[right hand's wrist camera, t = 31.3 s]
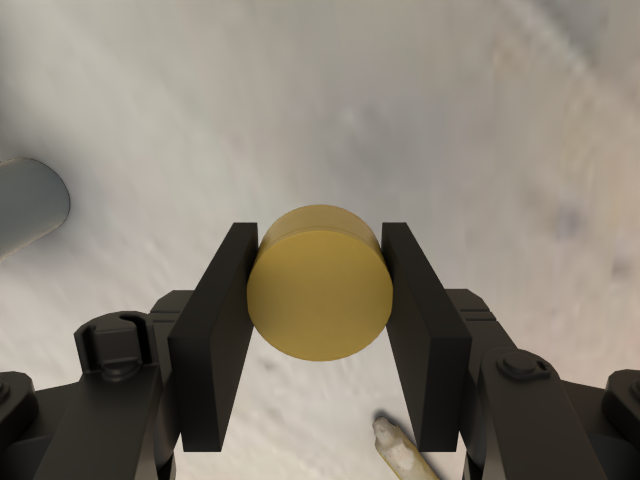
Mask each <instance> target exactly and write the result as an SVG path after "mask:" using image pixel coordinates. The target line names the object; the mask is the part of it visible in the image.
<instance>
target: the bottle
mask: <svg viewBox="0 0 640 480" xmlns="http://www.w3.org/2000/svg"><path fill="white" fill-rule="evenodd" d="M69 206H70V201H69V195H68V192H67V189H66V187H65V185H64V183H63V182H62V180H61V179H60V178H59V176H58V175H57V174H56V173H55V172H54V171H52V170H51V169H50V168H49V167H47V166H46V165H44V164H42V163H40V162H37V161H35V160H31V159H26V158H16V159H11V160H8V161H4V162H0V261H2V260H3V259H5V258H7V257H8V256H10V255H12V254H14V253H15V252H17V251H19V250H20V249H22V248H24V247H25V246H27V245H29V244H31V243H32V242H34V241H36V240H37V239H39V238H41V237H42V236H44V235H46V234H48V233H49V232H51V231H53V230H54V229H56V228H58V227H59V226H60V225H61V224H62V223H63V222H64V221H65V219H66V217H67V215H68V212H69Z"/></svg>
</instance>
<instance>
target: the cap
mask: <svg viewBox="0 0 640 480" xmlns="http://www.w3.org/2000/svg"><path fill="white" fill-rule="evenodd" d="M392 299H393V284H392V280H391V277H390V274H389V271H388V268H387V265H386V262H385V260H384V257H383V254H382V251H381V248H380V245H379V243H378V240H377V238H376V236H375V234H374V233H373V231H372V230H371V229H370V227H369V226H368V225H367V224H366V223H365V222H364V221H363V220H362V219H360V218H359V217H358V216H356V215H355V214H353V213H351V212H349V211H347V210H345V209H342V208H339V207H336V206H330V205H309V206H304V207H300V208H298V209H295V210H292V211H290V212H288V213H286V214H285V215H283V216H282V217H280V218H279V219H278V220H277V221H276V222H275V223H273V224H272V226H271V227H270V228H269V229H268V231H267V232H266V234H265V235H264V237H263V239H262V242H261V244H260V247H259V250H258V252H257V255H256V258H255V261H254V264H253V267H252V270H251V273H250V275H249V279H248V283H247V304H248V312H249V315H250V318H251V320H252V322H253V324H254V326H255V328H256V329H257V331H258V332H259V333H260V335H261V336H262V337H263V338H264V339H265V340H266V341H267V342H268V343H269V344H270V345H272V346H273V347H275V348H276V349H278V350H279V351H281V352H283V353H285V354H287V355H290V356H292V357H295V358H299V359H302V360H309V361H332V360H337V359H341V358H344V357H348V356H350V355H352V354H355V353H357V352H359V351H360V350H362V349H364V348H365V347H366V346H368V345H369V344H370V343H372V342H373V341H374V340H375V339H376V338H377V337H378V335H379V334H380V333H381V332H382V330H383V329H384V327H385V325H386V324H387V322H388V319H389V317H390V315H391V311H392Z"/></svg>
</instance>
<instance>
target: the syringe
mask: <svg viewBox="0 0 640 480" xmlns="http://www.w3.org/2000/svg"><path fill="white" fill-rule="evenodd" d="M373 429H374V431H375V435H376V442H375V447H376V450H377V451H378V452H379V454H380V455H381V456H382V458H383V459H384V460H385V461H386V463H387V464H388V465H389V466H390V468H391V469H392V470H393V471H394V473H395V474H396V475H397V476H398V478H399V479H400V480H440V479H439V478H438V477H437V476H436V475H435V473H434V472H433V471H432V469H431V468H430V467H429V465H428V464H427V463H426V462H425V460H424V459H423V458H422V456H421V455H420V453H419V452H418V450H417V448H416V447H415V446H414V444H413V443H412V442H410V441H409V439H408V438H407V437H406V435H405V434H404V433H403V432H402V431H401V429H400V428H399V426H398V424H397V426H394V425H392V424H391V423H390V422H389V421H388V420H387V419H386V418H385V417H378V418H377V419H376V420H375V421H374V423H373Z"/></svg>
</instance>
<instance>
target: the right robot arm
mask: <svg viewBox="0 0 640 480" xmlns="http://www.w3.org/2000/svg"><path fill="white" fill-rule="evenodd" d="M258 250H259V246H258V228H257V223H233V225H232V226H231V228H230V230H229V232H228V233H227V235H226V237H225V239H224V240H223V242H222V244H221V245H220V247H219V249H218V251H217V252H216V254H215V256H214V257H213V259H212V261H211V263H210V264H209V266H208V268H207V270H206V271H205V273H204V275H203V276H202V278H201V280H200V282H199V283H198V285H197V287H196V289H195V290H173V291H171V292H170V293H168V294H167V295H165V296H163V297H162V298H160V299H159V300H158V301H157V302H156V304H155V305H154V307H153V308H152V309H151V311H150V313H149V314H148V315H147V314H146V313H142V312H138V311H120V312H115V313H109V314H105V315H103V316H100V317H97V318H94V319H92V320H90V321H89V322H87V323H85V324H84V325H82V326H81V327H80V328H79V329H78V330H77V331H76V332H75V333H74V338H75V342H76V347H77V351H78V355H79V359H80V364H81V368H82V372H83V374H82V376H81V378H80V380H79V382H76V383H72V384H68V385H63V386H58V387H53V388H48V389H44V390H39V391H35V389H34V386H33V382H32V379H31V378H30V377H29V376H28V375H26V374H25V373H20V372H15V371H11V372H0V480H175V476H176V464H175V457H174V451H173V450H174V448H175V445H176V443H177V440H178V437H179V435H180V432H181V437H182V443H183V450H184V452H221V450H222V446H223V442H224V438H225V434H226V431H227V427H228V423H229V419H230V415H231V411H232V408H233V404H234V400H235V396H236V392H237V388H238V385H239V381H240V377H241V373H242V369H243V366H244V362H245V358H246V354H247V350H248V346H249V343H250V339H251V335H252V331H253V327H254V324H253V322H252V320H251V318H250V315H249V312H248V304H247V283H248V279H249V275H250V273H251V270H252V267H253V264H254V261H255V258H256V255H257V252H258ZM381 251H382V254H383V257H384V260H385V262H386V265H387V268H388V271H389V274H390V277H391V280H392V284H393V299H392V311H391V315H390V317H389V319H388V322H387V324H386V328H387V332H388V336H389V340H390V344H391V348H392V351H393V355H394V359H395V363H396V367H397V370H398V374H399V378H400V382H401V386H402V390H403V393H404V397H405V401H406V405H407V409H408V413H409V416H410V420H411V424H412V428H413V432H414V435H415V439H416V443H417V447H418V451H419V452H456V448H457V441H458V435H459V431H460V433H461V436H462V439H463V441H464V444H465V446H466V449H467V451H466V457H465V464H464V470H463V476H462V480H640V370H630V369H625V370H620V371H615V372H614V373H613V374H611V375H610V376H609V378H608V381H607V385H606V388H605V389H601V388H596V387H591V386H586V385H581V384H576V383H572V382H568V381H564V380H561V379H560V377H559V375H558V373H557V372H556V370H555V369H554V368H553V367H552V365H551V364H550V363H548V362H547V361H546V360H544V359H543V358H541V357H540V356H538V355H535V354H533V353H531V352H528V351H526V350H521V349H518V348H517V347H516V345H515V344H514V343H513V341H512V340H511V338H510V337H509V336H508V334H507V333H506V331H505V330H504V329H503V327H502V326H501V325H500V323H499V322H498V321H496V318H495V316H494V315H493V313H492V312H490V309H489V308H488V307H487V305H486V304H485V302H484V301H483V300H482V298H480V297H479V296H477V295H476V294H474V293H472V292H471V291H469V290H468V289H444V287H443V286H442V284H441V282H440V280H439V279H438V277H437V275H436V274H435V272H434V270H433V268H432V267H431V265H430V263H429V261H428V260H427V258H426V256H425V255H424V253H423V251H422V249H421V248H420V246H419V244H418V243H417V241H416V239H415V237H414V236H413V234H412V232H411V230H410V229H409V227H408V225H407V224H406V223H382V241H381Z"/></svg>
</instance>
